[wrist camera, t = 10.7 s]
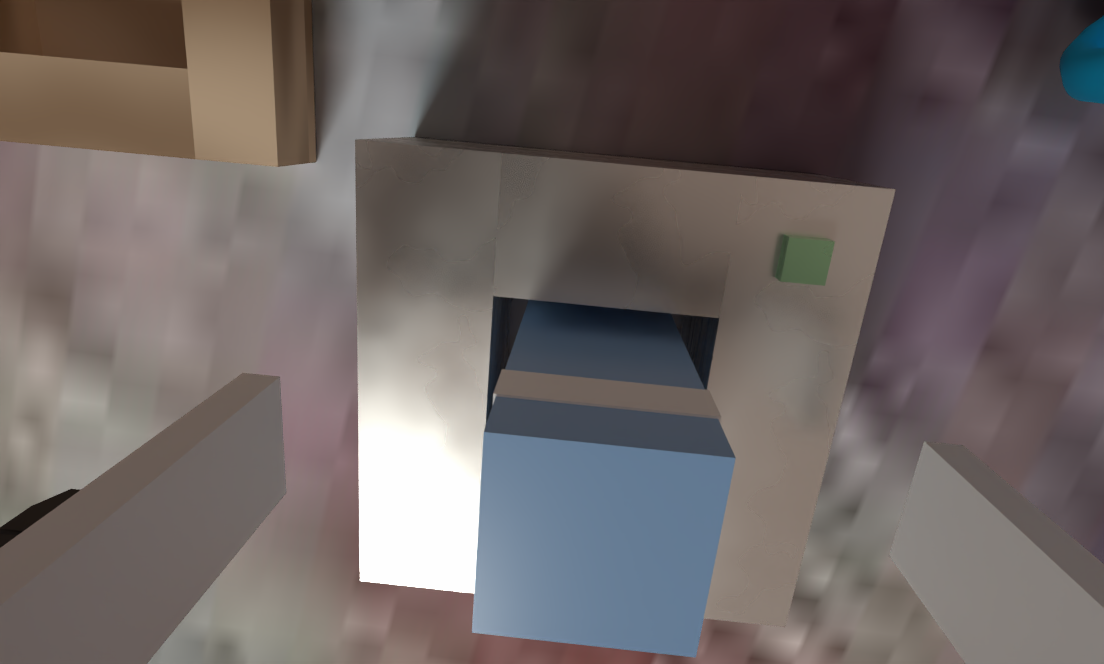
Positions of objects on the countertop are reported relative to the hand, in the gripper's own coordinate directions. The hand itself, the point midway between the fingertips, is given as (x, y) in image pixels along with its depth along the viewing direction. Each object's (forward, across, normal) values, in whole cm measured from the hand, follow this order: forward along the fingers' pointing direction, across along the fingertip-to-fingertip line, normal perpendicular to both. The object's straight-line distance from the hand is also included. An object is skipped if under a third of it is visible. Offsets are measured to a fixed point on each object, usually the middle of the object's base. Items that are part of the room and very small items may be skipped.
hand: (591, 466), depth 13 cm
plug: (+7, 0, 0) cm, 7 cm away
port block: (+8, 0, 0) cm, 8 cm away
